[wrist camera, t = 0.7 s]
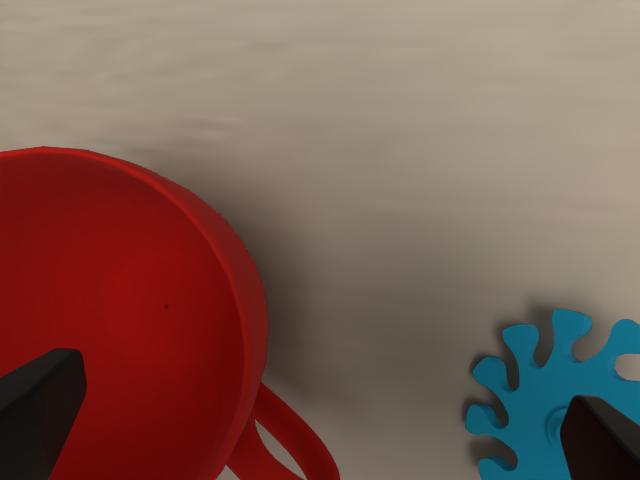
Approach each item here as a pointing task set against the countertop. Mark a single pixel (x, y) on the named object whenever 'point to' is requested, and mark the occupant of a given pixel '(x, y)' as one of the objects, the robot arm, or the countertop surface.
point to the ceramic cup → (142, 322)
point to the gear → (549, 394)
